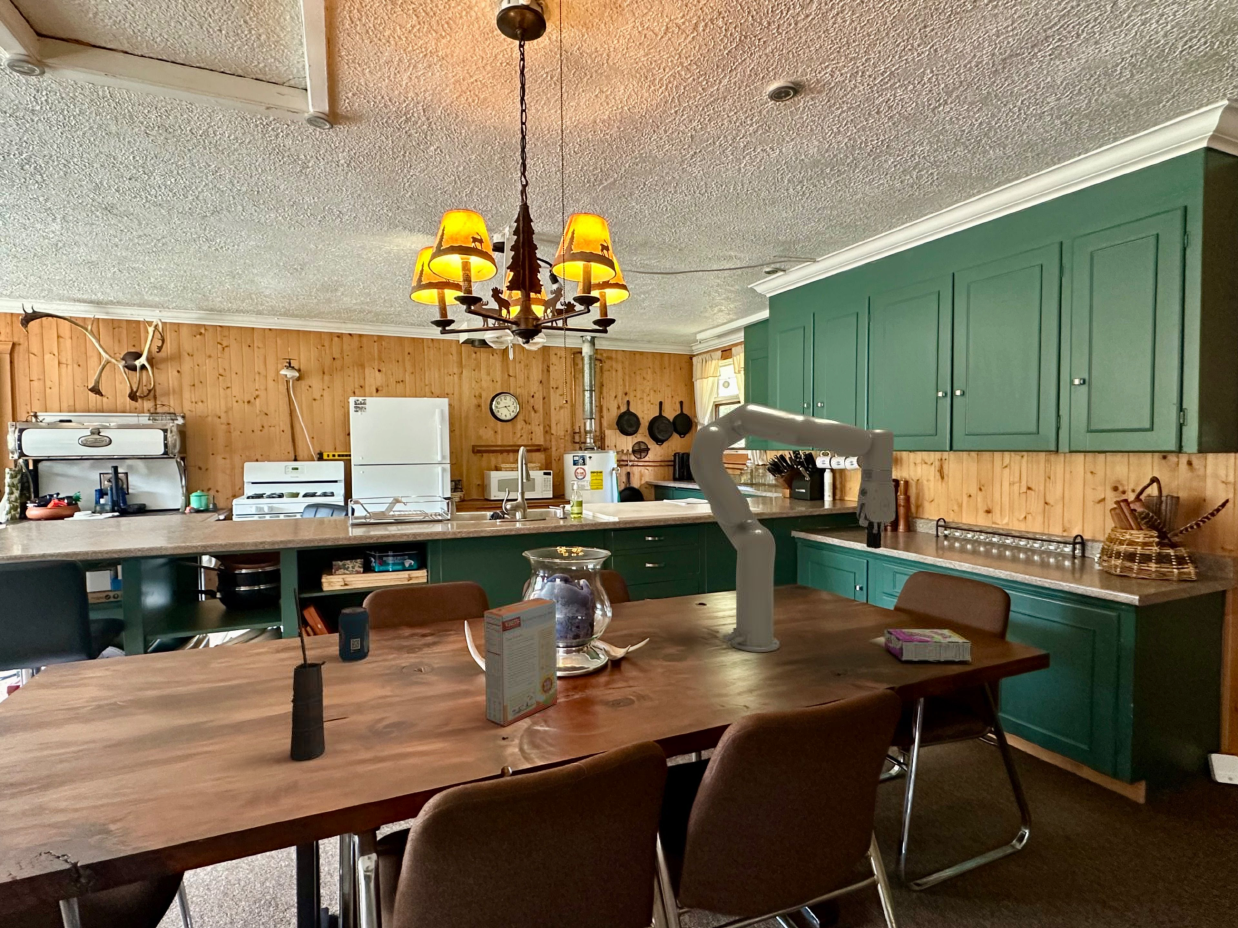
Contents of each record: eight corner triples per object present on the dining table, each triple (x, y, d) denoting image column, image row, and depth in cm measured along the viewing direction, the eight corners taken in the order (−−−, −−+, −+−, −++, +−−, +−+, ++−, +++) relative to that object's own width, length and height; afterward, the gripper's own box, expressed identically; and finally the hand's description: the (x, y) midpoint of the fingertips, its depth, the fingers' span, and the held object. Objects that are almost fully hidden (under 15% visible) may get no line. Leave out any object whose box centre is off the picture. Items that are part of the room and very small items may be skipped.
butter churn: (351, 736, 109) (350, 580, 109) (335, 763, 100) (333, 592, 99) (296, 740, 108) (294, 581, 107) (274, 768, 98) (272, 594, 98)
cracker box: (537, 696, 127) (537, 595, 127) (558, 703, 123) (558, 600, 123) (483, 719, 116) (482, 609, 116) (504, 728, 113) (503, 614, 112)
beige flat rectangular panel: (935, 662, 148) (935, 659, 148) (868, 642, 163) (868, 640, 163) (964, 652, 155) (964, 650, 155) (898, 634, 170) (898, 632, 170)
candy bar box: (883, 627, 157) (949, 628, 157) (883, 646, 158) (948, 648, 157) (902, 640, 146) (972, 641, 146) (902, 661, 146) (972, 662, 146)
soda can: (338, 655, 152) (337, 607, 152) (368, 651, 156) (367, 604, 155) (339, 664, 146) (339, 614, 146) (370, 660, 149) (370, 611, 149)
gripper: (870, 477, 152) (867, 551, 152) (907, 478, 159) (904, 548, 160) (845, 476, 158) (842, 547, 159) (882, 476, 166) (879, 544, 166)
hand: (873, 547), depth 159 cm, fingers closed
